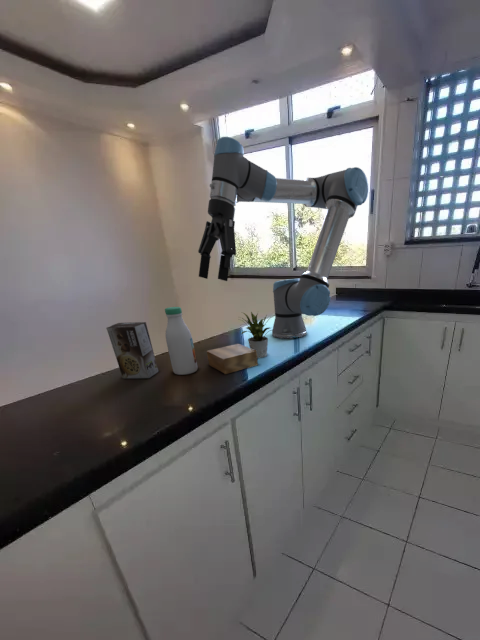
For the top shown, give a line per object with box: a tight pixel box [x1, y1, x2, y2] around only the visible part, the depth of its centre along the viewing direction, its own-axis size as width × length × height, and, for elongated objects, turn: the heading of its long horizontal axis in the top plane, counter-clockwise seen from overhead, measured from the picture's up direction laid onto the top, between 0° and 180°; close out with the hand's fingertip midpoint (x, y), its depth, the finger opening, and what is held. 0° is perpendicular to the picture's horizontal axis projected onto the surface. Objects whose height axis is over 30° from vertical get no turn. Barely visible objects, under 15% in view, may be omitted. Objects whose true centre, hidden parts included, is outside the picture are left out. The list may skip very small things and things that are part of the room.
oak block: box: [206, 343, 259, 375], centre depth 103 cm, size 12×12×5 cm
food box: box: [105, 321, 159, 379], centre depth 95 cm, size 9×6×16 cm
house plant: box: [238, 311, 274, 359], centre depth 109 cm, size 14×14×16 cm
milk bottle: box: [164, 306, 199, 376], centre depth 96 cm, size 8×8×20 cm
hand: (212, 278), depth 95 cm, fingers open, 13 cm apart
